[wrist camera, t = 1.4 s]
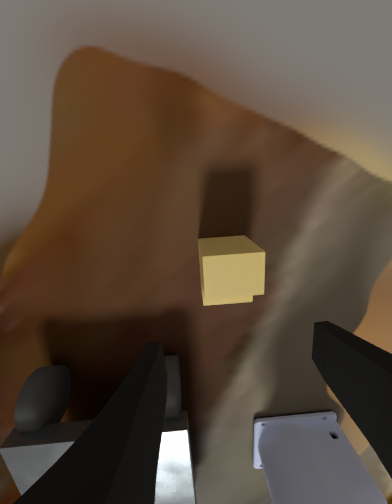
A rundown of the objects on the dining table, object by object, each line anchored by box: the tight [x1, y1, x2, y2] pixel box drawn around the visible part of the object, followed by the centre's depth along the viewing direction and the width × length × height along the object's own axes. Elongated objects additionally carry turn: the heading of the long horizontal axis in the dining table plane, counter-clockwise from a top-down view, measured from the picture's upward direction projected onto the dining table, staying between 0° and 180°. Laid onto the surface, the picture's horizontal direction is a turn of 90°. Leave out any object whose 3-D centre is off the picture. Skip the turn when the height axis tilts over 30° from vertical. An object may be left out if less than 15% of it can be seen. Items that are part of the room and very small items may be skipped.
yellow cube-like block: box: [198, 235, 265, 306], centre depth 17 cm, size 4×5×5 cm
